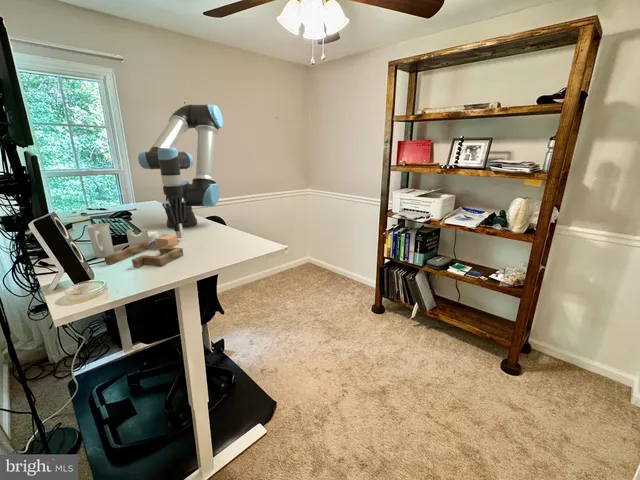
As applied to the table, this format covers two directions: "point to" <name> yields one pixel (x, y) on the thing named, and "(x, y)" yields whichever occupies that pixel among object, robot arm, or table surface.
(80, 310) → the table surface
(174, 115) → the robot arm
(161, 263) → the brown wooden puzzle piece
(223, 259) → the table surface
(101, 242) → the mug
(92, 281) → the table surface
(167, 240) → the block
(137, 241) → the bracket
